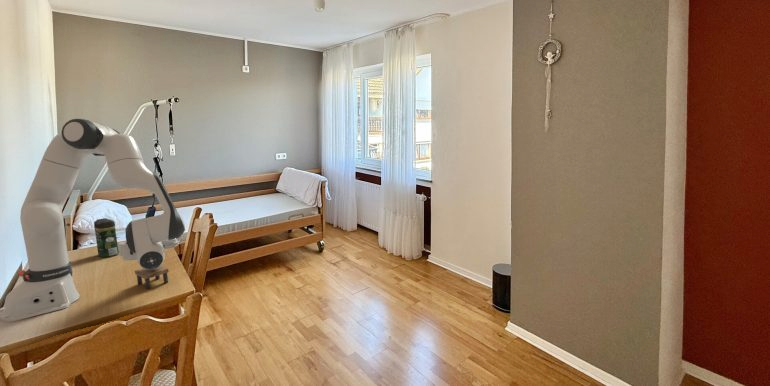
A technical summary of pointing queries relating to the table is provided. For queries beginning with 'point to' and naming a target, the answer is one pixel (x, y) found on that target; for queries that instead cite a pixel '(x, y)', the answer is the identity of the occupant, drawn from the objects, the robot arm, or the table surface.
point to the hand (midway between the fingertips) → (148, 239)
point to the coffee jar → (106, 237)
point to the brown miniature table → (151, 275)
